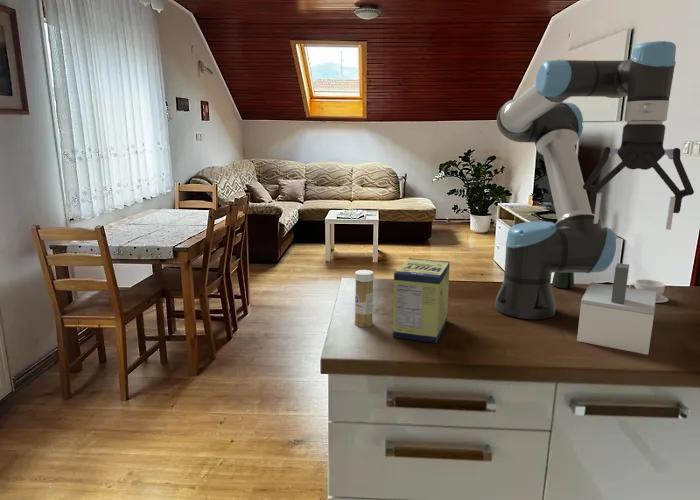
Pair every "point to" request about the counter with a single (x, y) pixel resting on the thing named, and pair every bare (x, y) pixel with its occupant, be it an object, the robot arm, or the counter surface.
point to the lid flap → (620, 294)
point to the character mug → (563, 279)
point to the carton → (615, 328)
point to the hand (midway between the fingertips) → (630, 225)
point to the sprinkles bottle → (364, 298)
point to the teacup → (652, 288)
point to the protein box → (420, 299)
